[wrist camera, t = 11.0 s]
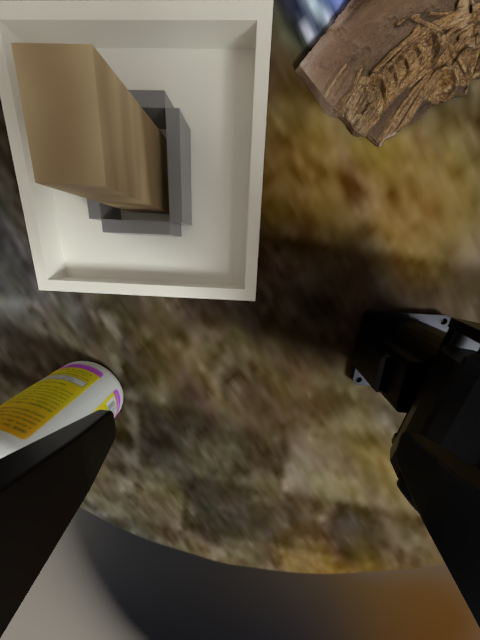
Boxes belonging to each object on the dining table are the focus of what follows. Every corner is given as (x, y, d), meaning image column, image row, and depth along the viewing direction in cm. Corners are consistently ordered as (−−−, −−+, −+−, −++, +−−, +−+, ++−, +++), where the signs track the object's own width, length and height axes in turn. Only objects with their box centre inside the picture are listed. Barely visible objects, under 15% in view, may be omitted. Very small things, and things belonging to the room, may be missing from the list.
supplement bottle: (44, 375, 23) (-205, 524, 10) (98, 346, 21) (-110, 476, 9) (87, 428, 24) (-86, 613, 12) (140, 404, 23) (9, 581, 11)
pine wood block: (168, 142, 16) (91, 44, 8) (171, 214, 17) (105, 185, 10) (125, 140, 16) (11, 42, 9) (130, 212, 18) (35, 182, 10)
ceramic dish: (270, 40, 15) (274, -13, 12) (255, 294, 19) (255, 302, 16) (23, 39, 15) (-32, -12, 12) (64, 285, 20) (31, 291, 17)
